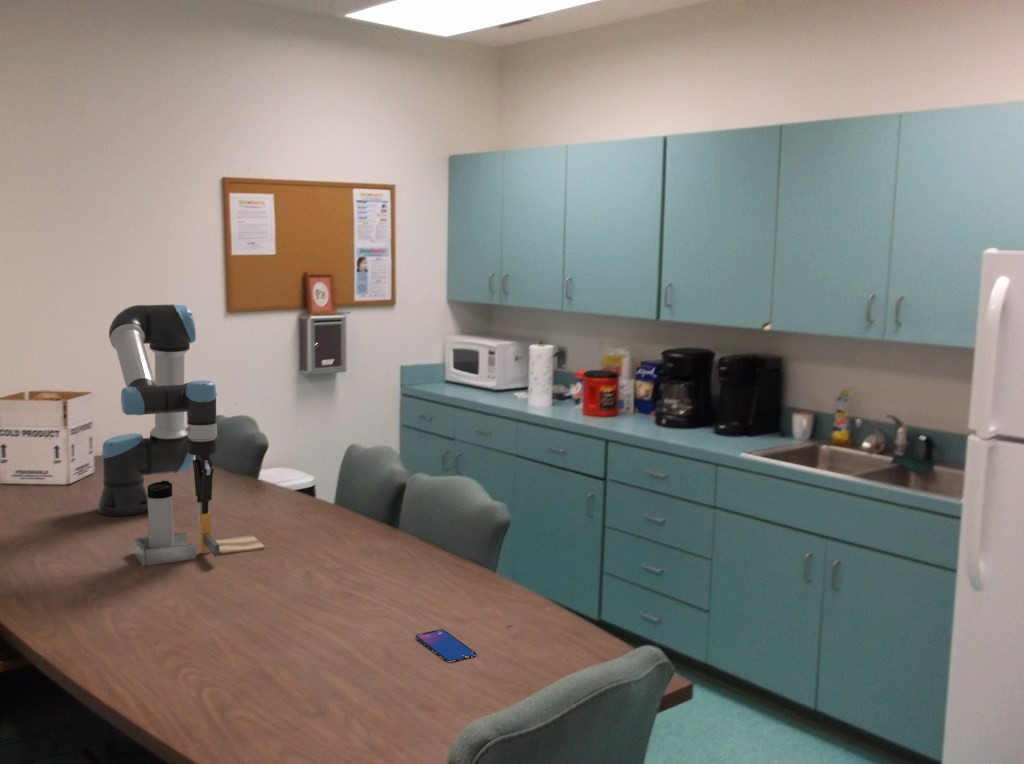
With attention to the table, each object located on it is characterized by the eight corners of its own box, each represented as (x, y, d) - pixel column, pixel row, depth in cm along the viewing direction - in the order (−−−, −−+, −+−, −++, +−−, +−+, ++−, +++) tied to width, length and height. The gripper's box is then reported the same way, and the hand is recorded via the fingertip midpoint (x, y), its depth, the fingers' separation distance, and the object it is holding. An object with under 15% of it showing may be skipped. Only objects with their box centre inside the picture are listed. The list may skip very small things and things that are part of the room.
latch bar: (200, 552, 256) (199, 512, 254) (209, 550, 257) (208, 511, 256) (212, 566, 245) (211, 525, 243) (222, 564, 246) (221, 524, 245)
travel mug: (178, 553, 255) (177, 480, 252) (167, 560, 248) (165, 487, 245) (156, 551, 255) (154, 479, 253) (144, 559, 249) (142, 485, 246)
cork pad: (209, 542, 264) (209, 540, 264) (252, 536, 270) (252, 534, 270) (221, 554, 254) (220, 552, 254) (264, 548, 260) (264, 546, 260)
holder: (134, 553, 254) (133, 538, 253) (185, 546, 261) (185, 532, 260) (142, 566, 244) (142, 551, 243) (196, 558, 251) (195, 544, 250)
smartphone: (448, 662, 191) (413, 635, 203) (448, 666, 191) (413, 638, 203) (478, 654, 195) (443, 628, 207) (478, 658, 195) (442, 632, 207)
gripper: (182, 435, 256) (184, 519, 259) (193, 444, 245) (195, 532, 248) (210, 433, 260) (212, 516, 263) (222, 441, 249) (224, 528, 252)
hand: (204, 523), depth 256 cm, fingers closed
